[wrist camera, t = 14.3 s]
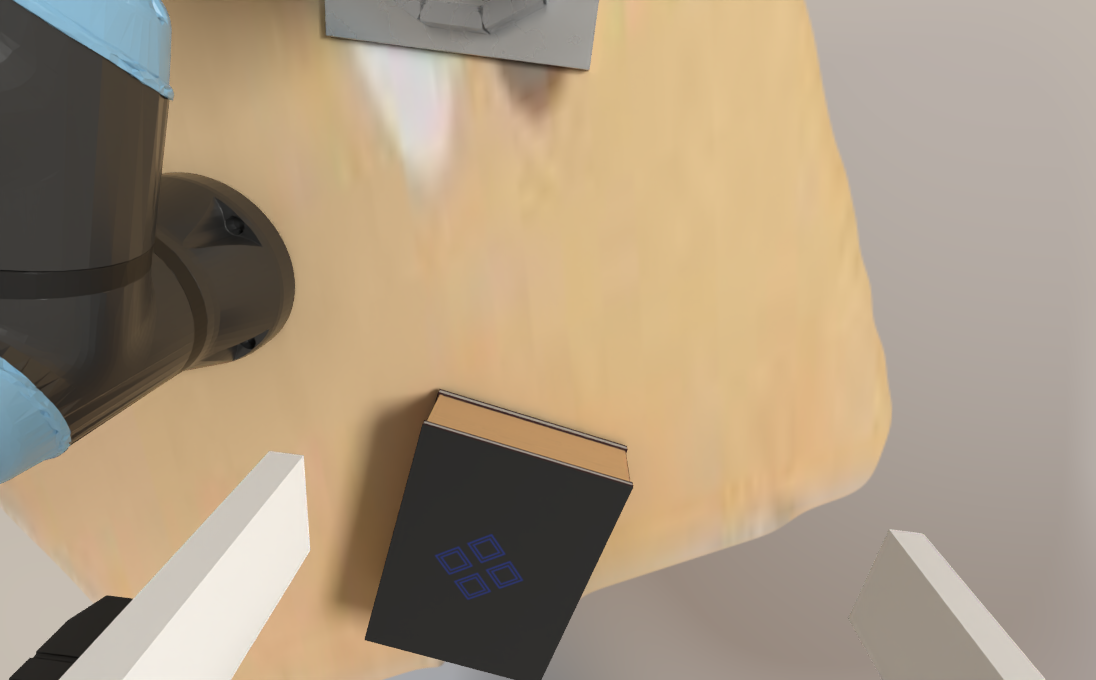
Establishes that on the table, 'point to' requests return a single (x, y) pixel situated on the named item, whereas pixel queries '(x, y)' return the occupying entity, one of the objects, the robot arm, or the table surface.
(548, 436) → the book
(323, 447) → the table surface
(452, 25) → the flange
